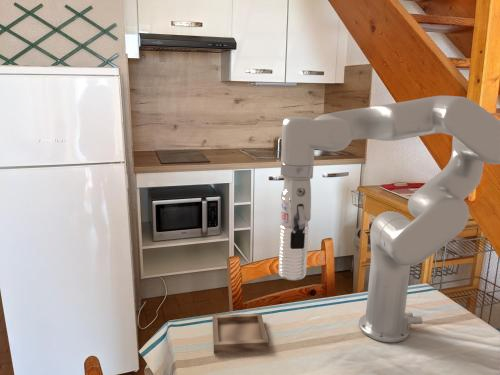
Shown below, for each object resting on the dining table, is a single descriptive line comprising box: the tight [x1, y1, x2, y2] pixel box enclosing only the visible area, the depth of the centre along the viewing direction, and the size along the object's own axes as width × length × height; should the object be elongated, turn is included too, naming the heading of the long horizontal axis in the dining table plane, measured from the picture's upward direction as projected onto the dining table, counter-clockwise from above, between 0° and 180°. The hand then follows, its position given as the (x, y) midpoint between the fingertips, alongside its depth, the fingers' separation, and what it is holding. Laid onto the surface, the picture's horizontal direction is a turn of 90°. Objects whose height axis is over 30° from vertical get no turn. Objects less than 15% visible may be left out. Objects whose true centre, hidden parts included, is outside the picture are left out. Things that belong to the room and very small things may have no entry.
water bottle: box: [278, 188, 310, 281], centre depth 104 cm, size 7×7×25 cm
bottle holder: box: [212, 312, 270, 354], centre depth 108 cm, size 13×13×2 cm
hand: (293, 241), depth 104 cm, fingers closed on water bottle, 6 cm apart
